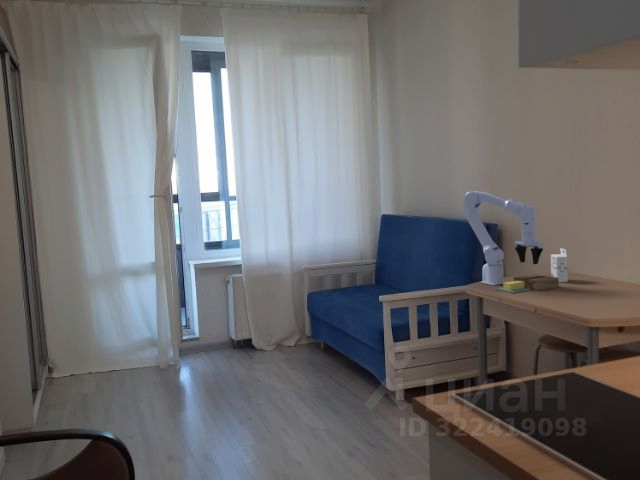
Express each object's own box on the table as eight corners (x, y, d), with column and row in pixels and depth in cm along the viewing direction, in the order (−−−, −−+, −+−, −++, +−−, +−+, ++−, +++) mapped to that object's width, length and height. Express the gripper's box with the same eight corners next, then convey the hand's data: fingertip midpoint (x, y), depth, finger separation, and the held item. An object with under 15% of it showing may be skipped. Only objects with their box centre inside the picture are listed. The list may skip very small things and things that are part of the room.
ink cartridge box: (550, 279, 288) (549, 248, 286) (561, 278, 287) (560, 247, 286) (557, 282, 279) (556, 250, 277) (568, 282, 279) (567, 249, 277)
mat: (496, 290, 270) (496, 288, 270) (514, 287, 274) (514, 285, 274) (512, 293, 261) (512, 292, 261) (530, 290, 265) (530, 288, 265)
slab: (503, 289, 268) (503, 282, 268) (517, 286, 272) (517, 280, 271) (510, 290, 264) (510, 284, 264) (524, 288, 268) (524, 281, 267)
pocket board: (513, 286, 277) (513, 277, 276) (534, 282, 282) (534, 273, 282) (537, 290, 264) (537, 281, 264) (558, 286, 270) (558, 277, 269)
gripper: (509, 232, 279) (510, 262, 280) (534, 234, 266) (534, 265, 268) (521, 231, 282) (521, 260, 284) (546, 233, 269) (546, 264, 271)
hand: (529, 263), depth 276 cm, fingers open, 7 cm apart
